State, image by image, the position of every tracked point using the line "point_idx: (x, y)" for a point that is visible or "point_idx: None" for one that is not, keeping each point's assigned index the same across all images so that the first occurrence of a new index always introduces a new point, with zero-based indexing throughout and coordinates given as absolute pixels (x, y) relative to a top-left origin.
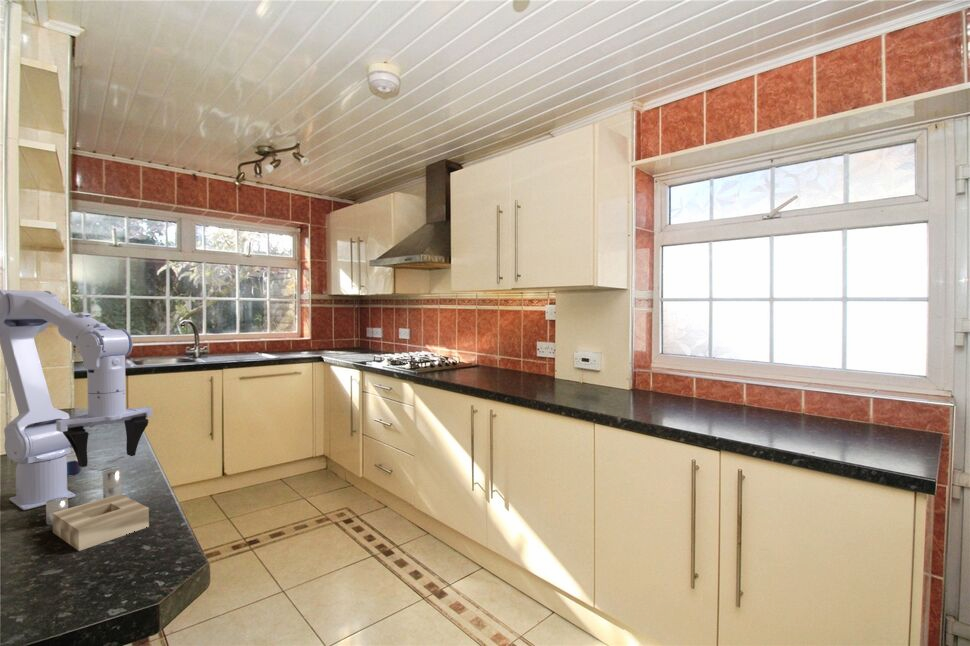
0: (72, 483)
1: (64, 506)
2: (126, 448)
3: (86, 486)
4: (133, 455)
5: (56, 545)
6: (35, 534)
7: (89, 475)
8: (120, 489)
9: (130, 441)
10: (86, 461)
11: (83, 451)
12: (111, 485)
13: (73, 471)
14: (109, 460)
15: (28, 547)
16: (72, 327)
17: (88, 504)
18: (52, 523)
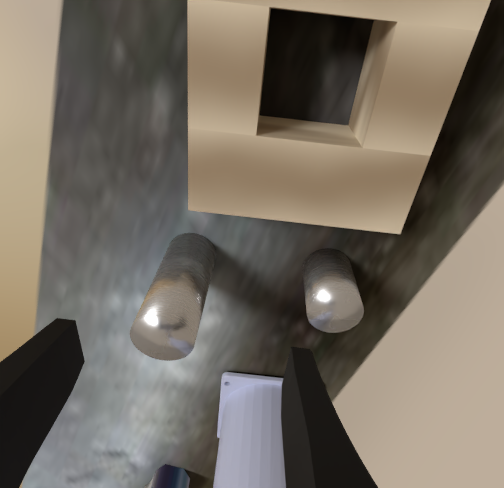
0: (191, 435)
1: (325, 279)
2: (68, 396)
3: (180, 405)
4: (62, 319)
5: None
6: (403, 230)
7: (151, 447)
8: (163, 265)
9: (22, 417)
10: (299, 368)
11: (328, 433)
12: (186, 283)
13: (169, 474)
14: (95, 481)
15: (478, 151)
16: None
17: (303, 203)
18: (347, 257)
